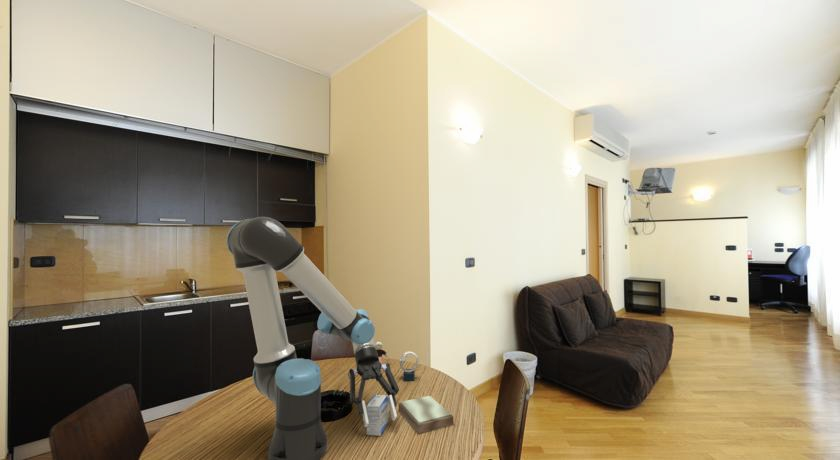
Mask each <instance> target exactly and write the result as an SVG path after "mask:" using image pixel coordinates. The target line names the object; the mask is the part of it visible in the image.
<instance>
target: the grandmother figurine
mask: <svg viewBox="0 0 840 460" xmlns="http://www.w3.org/2000/svg"><path fill="white" fill-rule="evenodd" d="M375 345H376V350H377V354H378V358H379V361H380V363H381V364H383V362H384V358H383V356H384V357H385V358H388V354H387V352H386V351H385V350H383V349H382V348H383V346H384V344H383V343H382V342H381V341H376V342H375ZM380 372H384V371H383V369H380Z"/></svg>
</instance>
